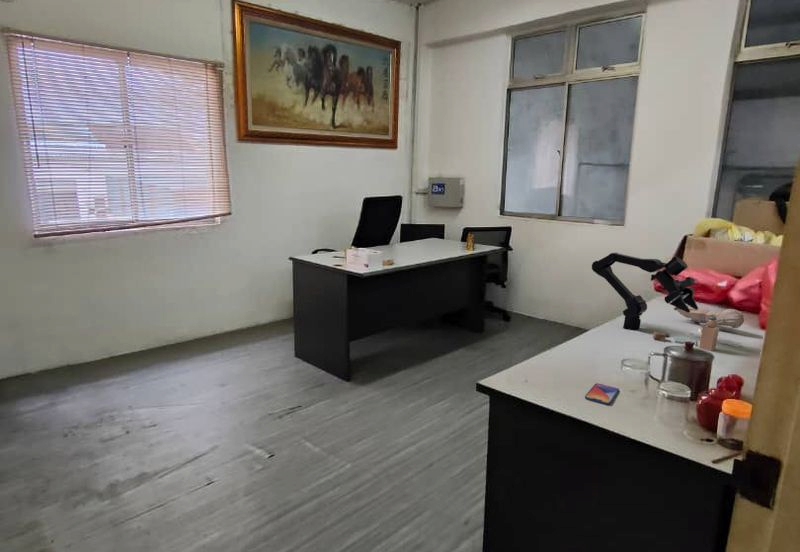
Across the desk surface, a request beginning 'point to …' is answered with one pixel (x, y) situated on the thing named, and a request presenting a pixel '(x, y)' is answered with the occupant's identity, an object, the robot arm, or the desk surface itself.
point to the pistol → (721, 340)
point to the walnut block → (659, 336)
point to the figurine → (723, 318)
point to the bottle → (709, 335)
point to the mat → (682, 339)
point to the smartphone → (602, 394)
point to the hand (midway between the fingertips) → (693, 310)
